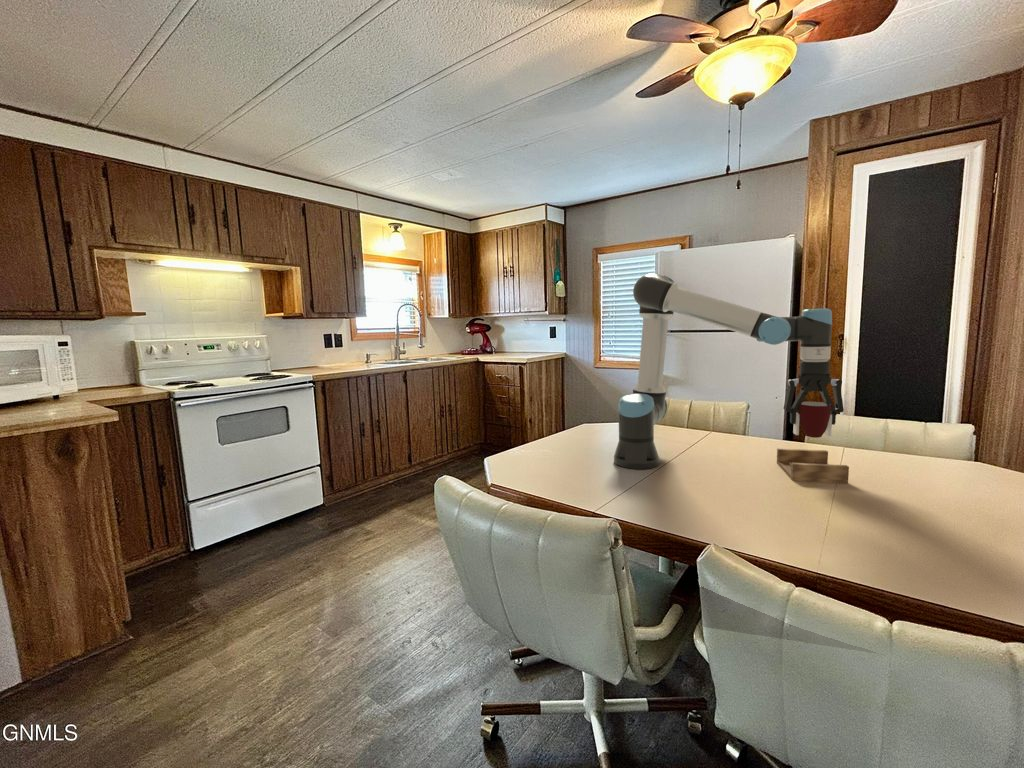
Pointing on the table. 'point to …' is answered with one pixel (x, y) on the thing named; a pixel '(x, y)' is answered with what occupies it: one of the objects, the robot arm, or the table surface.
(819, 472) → the rack
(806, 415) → the mug
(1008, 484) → the table surface
